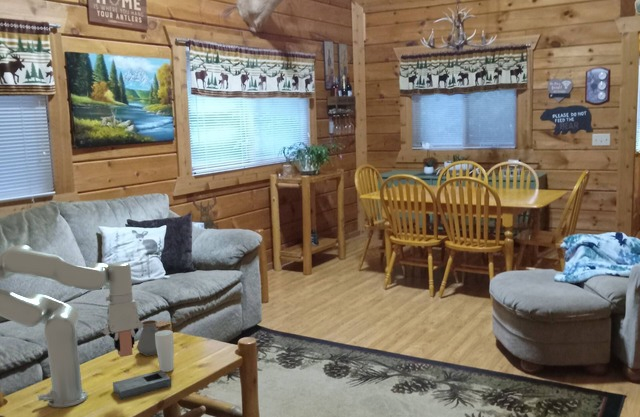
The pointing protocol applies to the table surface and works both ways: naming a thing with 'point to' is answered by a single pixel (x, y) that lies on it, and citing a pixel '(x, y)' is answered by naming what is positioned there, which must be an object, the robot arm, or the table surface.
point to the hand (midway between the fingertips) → (124, 347)
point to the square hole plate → (141, 384)
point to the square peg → (125, 343)
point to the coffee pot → (149, 337)
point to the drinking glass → (165, 350)
